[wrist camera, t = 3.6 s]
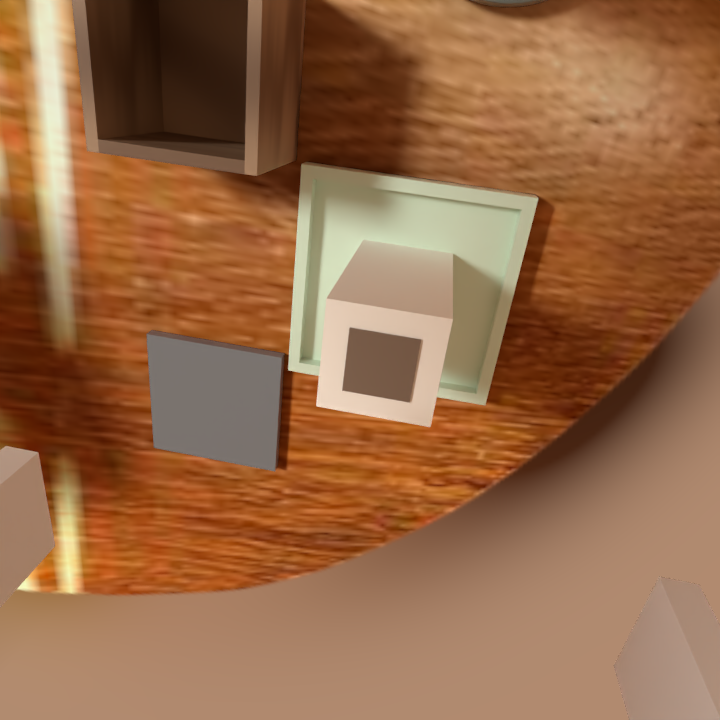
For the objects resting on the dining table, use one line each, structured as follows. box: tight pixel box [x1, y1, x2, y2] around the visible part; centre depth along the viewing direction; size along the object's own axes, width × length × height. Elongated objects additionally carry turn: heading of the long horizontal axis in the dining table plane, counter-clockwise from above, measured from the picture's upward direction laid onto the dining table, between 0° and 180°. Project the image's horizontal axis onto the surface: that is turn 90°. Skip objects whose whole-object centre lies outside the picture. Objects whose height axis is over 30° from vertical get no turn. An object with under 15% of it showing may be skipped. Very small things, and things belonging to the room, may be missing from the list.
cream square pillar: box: [316, 239, 453, 427], centre depth 24 cm, size 5×5×9 cm
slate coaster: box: [147, 330, 285, 471], centre depth 33 cm, size 8×8×1 cm
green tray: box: [288, 162, 538, 405], centre depth 28 cm, size 11×11×1 cm
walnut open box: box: [72, 0, 306, 176], centre depth 23 cm, size 7×7×6 cm
